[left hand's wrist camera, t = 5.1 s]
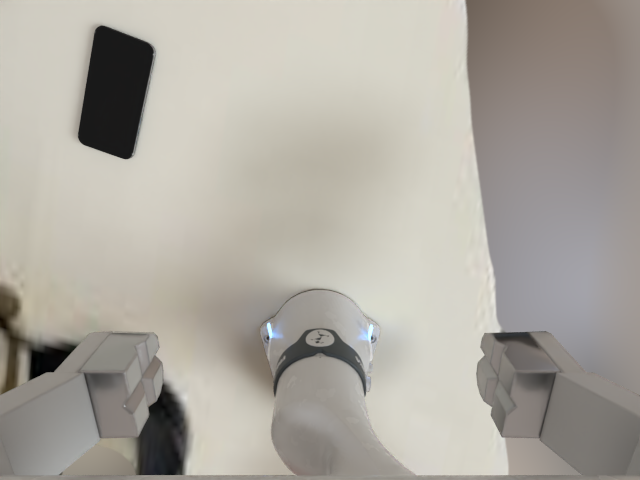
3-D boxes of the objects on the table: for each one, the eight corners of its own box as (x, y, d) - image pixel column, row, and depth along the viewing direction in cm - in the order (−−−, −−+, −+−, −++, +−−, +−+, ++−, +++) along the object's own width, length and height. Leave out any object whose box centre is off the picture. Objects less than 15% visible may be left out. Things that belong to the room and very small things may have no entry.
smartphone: (155, 46, 51) (131, 161, 56) (157, 46, 51) (133, 160, 56) (95, 22, 50) (76, 142, 55) (98, 23, 51) (78, 141, 56)
